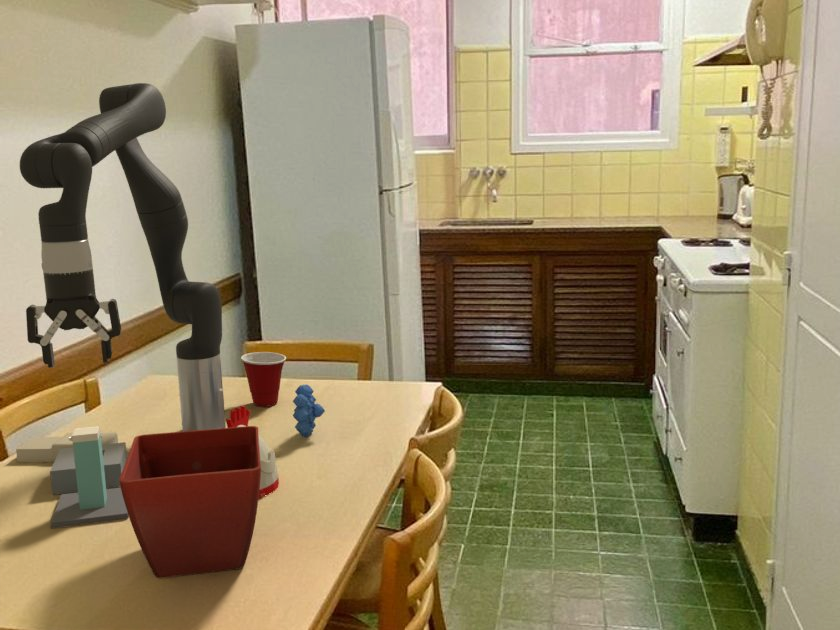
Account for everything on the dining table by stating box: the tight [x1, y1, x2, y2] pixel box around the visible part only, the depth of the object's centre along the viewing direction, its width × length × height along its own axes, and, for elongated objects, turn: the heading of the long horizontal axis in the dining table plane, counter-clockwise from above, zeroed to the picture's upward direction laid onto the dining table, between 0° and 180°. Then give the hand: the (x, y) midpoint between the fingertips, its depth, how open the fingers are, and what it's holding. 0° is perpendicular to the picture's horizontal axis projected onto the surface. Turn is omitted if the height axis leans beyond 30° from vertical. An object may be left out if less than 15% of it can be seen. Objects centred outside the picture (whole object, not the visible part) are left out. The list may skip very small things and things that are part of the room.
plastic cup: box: [240, 351, 287, 408], centre depth 201 cm, size 11×11×12 cm
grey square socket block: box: [49, 441, 128, 496], centre depth 157 cm, size 12×12×4 cm
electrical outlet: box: [15, 432, 119, 463], centre depth 169 cm, size 7×4×18 cm
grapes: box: [292, 384, 326, 438], centre depth 176 cm, size 12×7×12 cm, turn 176°
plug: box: [72, 425, 107, 510], centre depth 142 cm, size 4×4×13 cm
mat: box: [50, 487, 129, 529], centre depth 143 cm, size 12×12×1 cm
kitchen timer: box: [225, 405, 280, 499], centre depth 150 cm, size 14×14×15 cm
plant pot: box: [119, 425, 261, 579], centre depth 124 cm, size 19×19×17 cm
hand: (78, 364), depth 138 cm, fingers open, 8 cm apart
